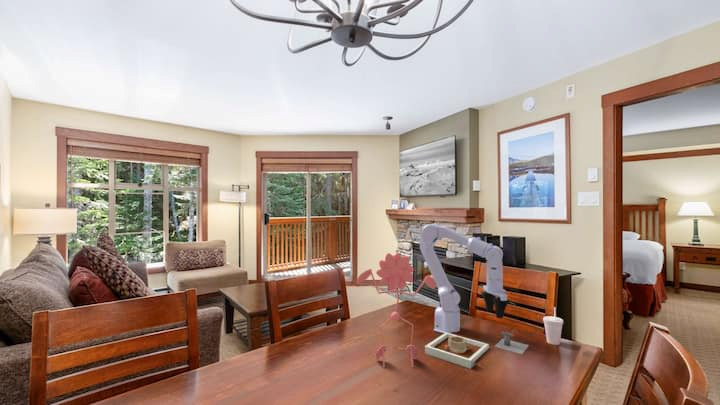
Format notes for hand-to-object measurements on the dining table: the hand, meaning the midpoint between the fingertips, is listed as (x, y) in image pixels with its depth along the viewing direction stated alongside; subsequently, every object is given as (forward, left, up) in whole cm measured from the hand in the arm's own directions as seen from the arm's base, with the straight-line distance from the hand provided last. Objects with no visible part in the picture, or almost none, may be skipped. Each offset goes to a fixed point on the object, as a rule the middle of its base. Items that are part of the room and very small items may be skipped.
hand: (494, 314), depth 124 cm
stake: (+8, -5, -9) cm, 13 cm away
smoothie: (+18, +8, -10) cm, 22 cm away
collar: (-6, -20, -9) cm, 23 cm away
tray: (-6, -20, -9) cm, 23 cm away
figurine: (-20, -37, -10) cm, 43 cm away
